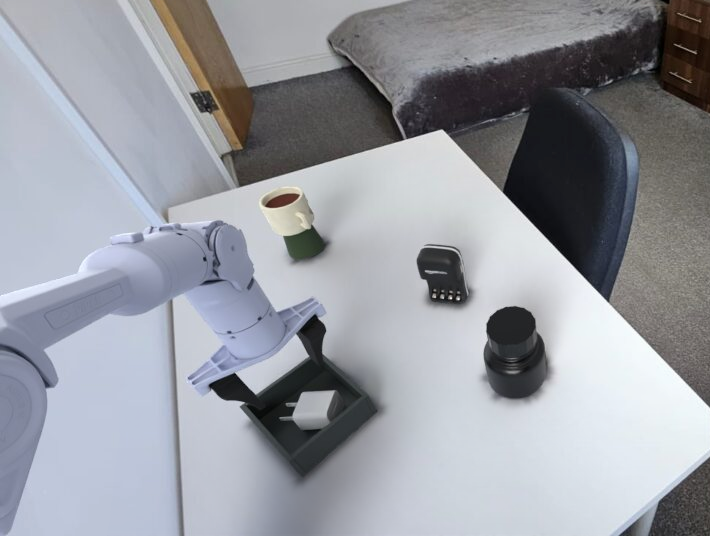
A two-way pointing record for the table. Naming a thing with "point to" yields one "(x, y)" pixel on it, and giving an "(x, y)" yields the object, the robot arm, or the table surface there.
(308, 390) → the open storage tray
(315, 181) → the table surface
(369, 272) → the table surface
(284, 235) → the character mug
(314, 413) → the usb wall charger
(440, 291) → the battery charger
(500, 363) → the ink bottle
